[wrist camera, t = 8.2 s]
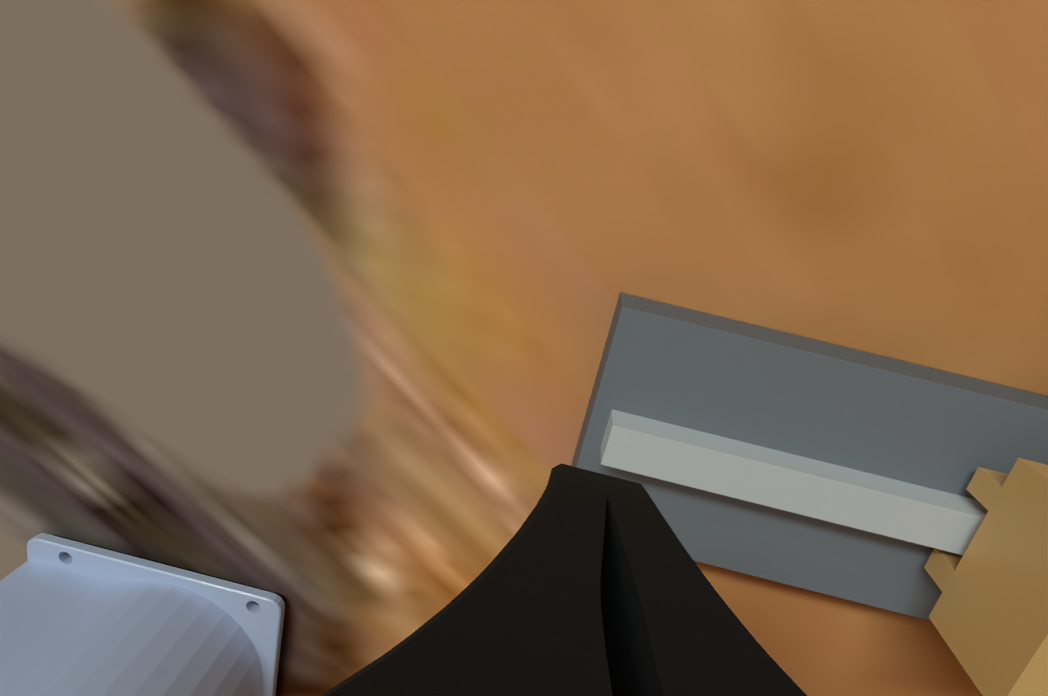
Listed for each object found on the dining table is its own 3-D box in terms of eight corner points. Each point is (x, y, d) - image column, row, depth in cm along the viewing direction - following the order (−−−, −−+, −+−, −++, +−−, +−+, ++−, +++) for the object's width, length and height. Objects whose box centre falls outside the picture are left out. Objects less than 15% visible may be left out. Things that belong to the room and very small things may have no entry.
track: (561, 499, 20) (551, 610, 15) (620, 292, 18) (628, 349, 13) (1058, 624, 20) (1203, 779, 15) (1186, 429, 17) (1407, 541, 13)
